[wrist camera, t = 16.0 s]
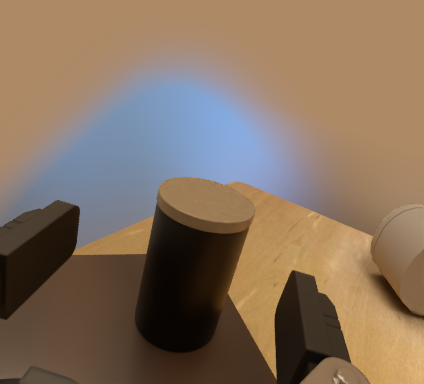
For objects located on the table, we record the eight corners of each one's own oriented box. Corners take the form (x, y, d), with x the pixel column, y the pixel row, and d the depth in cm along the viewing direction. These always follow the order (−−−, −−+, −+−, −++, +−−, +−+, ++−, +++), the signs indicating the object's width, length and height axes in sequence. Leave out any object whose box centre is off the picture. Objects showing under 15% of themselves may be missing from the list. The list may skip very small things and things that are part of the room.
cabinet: (-42, 620, 14) (-56, 494, 10) (6, 362, 24) (7, 255, 21) (238, 512, 20) (292, 406, 16) (180, 340, 30) (205, 253, 27)
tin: (124, 345, 17) (151, 208, 14) (142, 283, 22) (164, 169, 19) (217, 360, 18) (262, 231, 15) (215, 297, 22) (249, 188, 19)
